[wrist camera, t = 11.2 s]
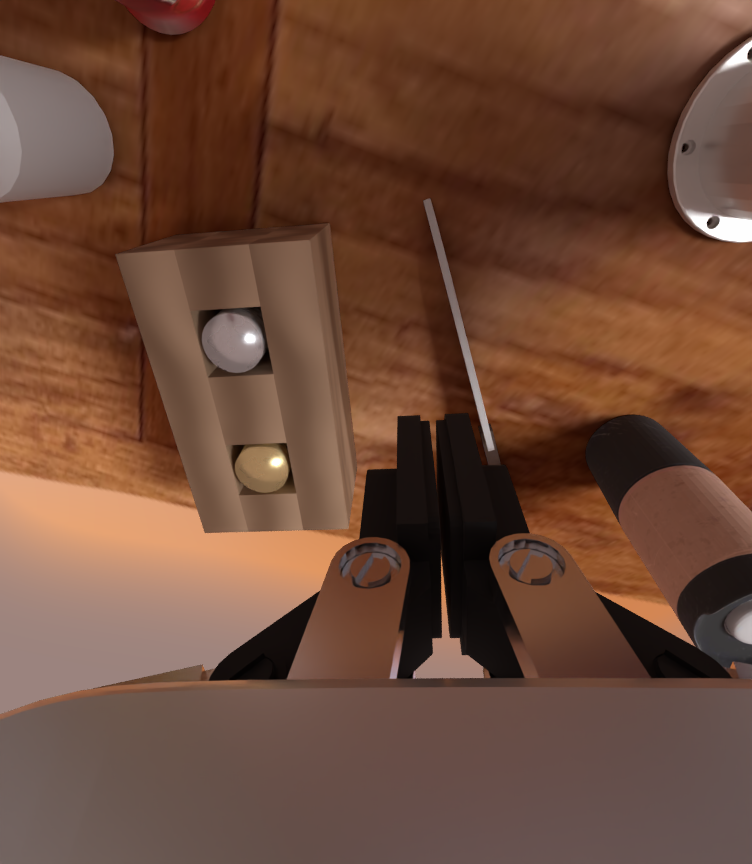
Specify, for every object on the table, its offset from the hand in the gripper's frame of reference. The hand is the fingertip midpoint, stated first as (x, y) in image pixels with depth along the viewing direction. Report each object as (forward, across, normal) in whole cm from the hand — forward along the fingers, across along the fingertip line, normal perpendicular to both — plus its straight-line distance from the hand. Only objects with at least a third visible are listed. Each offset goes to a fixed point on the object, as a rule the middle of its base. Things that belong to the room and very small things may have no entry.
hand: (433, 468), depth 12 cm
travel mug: (+29, -19, +18) cm, 39 cm away
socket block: (+29, +12, +8) cm, 32 cm away
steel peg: (+28, +12, +3) cm, 31 cm away
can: (+29, +24, -10) cm, 39 cm away
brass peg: (+28, +12, +13) cm, 33 cm away
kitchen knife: (+30, -5, +10) cm, 32 cm away
